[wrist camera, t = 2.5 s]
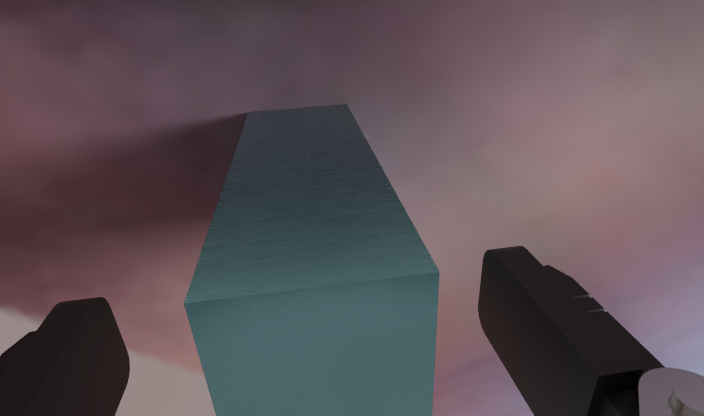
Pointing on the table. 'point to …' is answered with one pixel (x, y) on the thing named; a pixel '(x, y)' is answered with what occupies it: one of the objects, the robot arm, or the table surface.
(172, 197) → the table surface
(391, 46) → the table surface
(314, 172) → the bracket post
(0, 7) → the table surface
